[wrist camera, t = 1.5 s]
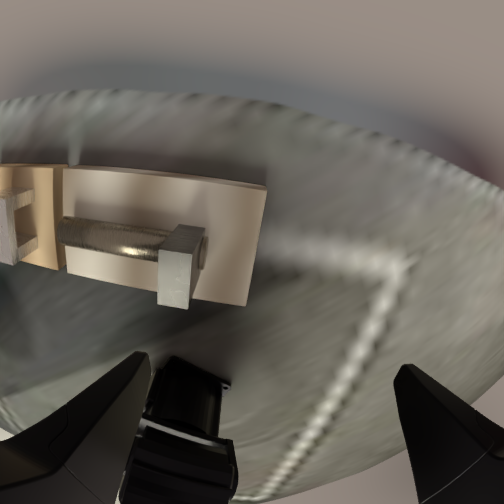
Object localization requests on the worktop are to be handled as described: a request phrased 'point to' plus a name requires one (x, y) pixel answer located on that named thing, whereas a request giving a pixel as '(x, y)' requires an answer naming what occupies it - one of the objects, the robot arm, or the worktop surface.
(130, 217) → the door jamb
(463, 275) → the worktop surface
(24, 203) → the keeper
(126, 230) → the bolt
